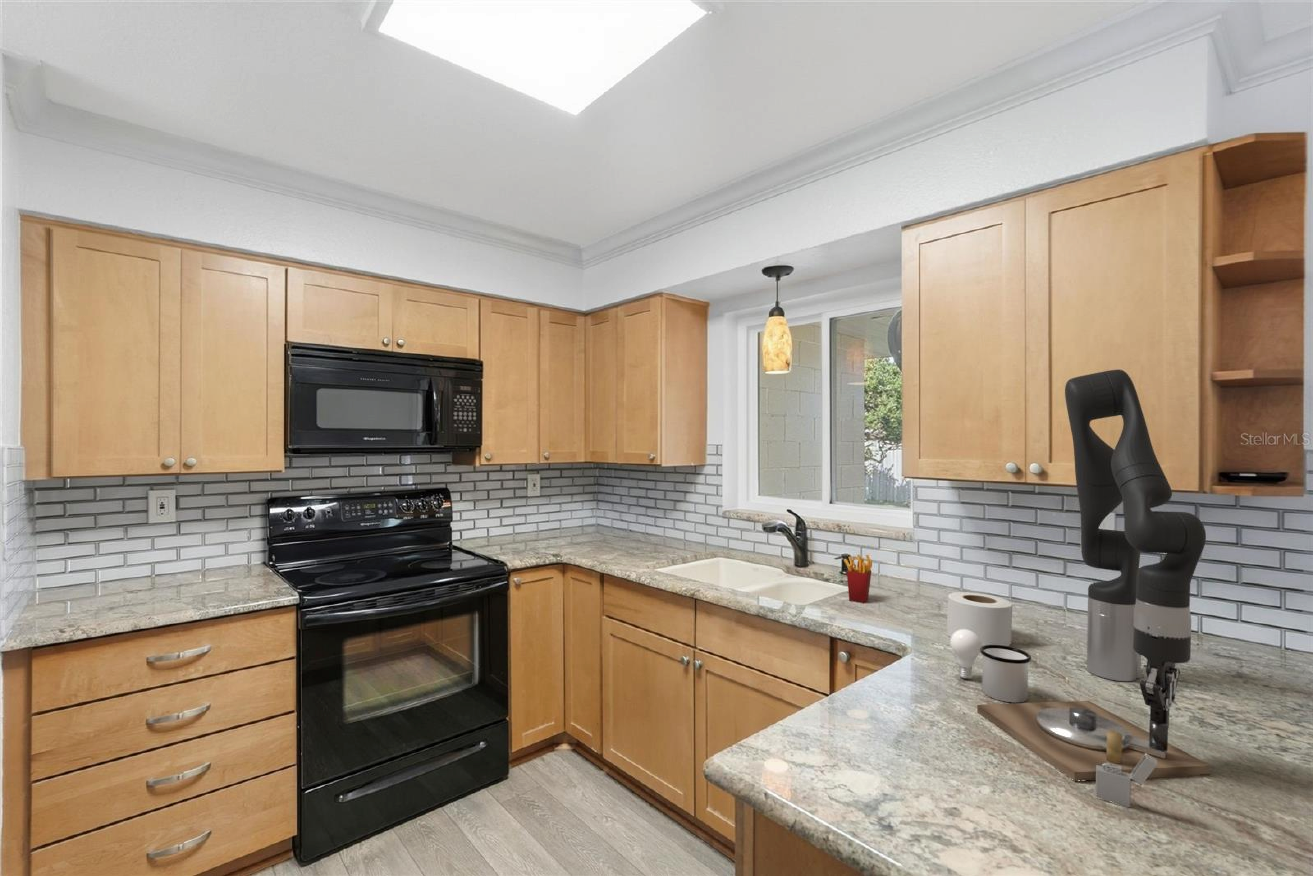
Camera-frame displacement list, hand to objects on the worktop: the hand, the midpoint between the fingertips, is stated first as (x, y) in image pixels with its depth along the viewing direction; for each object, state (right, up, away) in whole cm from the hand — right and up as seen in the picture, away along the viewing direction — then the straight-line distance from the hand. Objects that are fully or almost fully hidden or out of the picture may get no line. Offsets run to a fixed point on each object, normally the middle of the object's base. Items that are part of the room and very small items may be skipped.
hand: (1159, 728), depth 104 cm
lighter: (-16, -5, -14) cm, 22 cm away
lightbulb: (-17, -5, +32) cm, 37 cm away
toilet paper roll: (+1, -5, +61) cm, 61 cm away
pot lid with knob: (-8, -3, +3) cm, 9 cm away
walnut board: (-10, -5, +5) cm, 12 cm away
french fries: (-19, -4, +98) cm, 100 cm away
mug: (-12, -5, +25) cm, 28 cm away
